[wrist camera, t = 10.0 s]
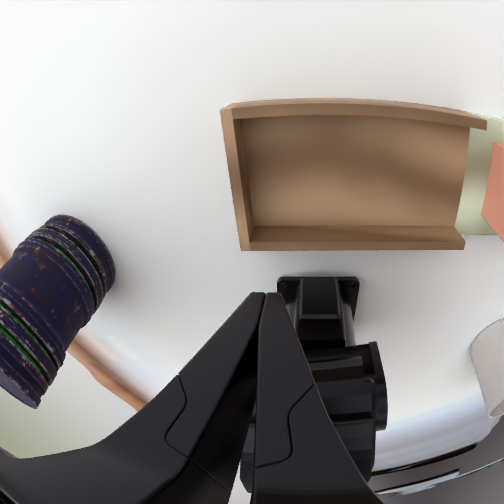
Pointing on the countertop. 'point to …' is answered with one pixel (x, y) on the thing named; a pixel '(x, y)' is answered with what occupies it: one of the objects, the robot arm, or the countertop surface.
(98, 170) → the countertop surface
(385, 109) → the wooden tray
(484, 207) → the block
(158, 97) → the countertop surface
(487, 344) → the cup
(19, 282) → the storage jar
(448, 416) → the countertop surface
